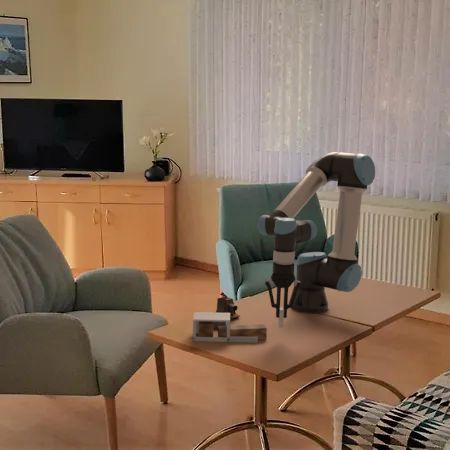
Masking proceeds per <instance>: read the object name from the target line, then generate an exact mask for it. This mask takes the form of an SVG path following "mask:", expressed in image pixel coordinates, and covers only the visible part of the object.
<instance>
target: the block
mask: <svg viewBox="0 0 450 450" xmlns="http://www.w3.org/2000/svg"><path fill="white" fill-rule="evenodd" d="M198 337H214V328H213V321H199V334H198Z"/></svg>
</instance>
